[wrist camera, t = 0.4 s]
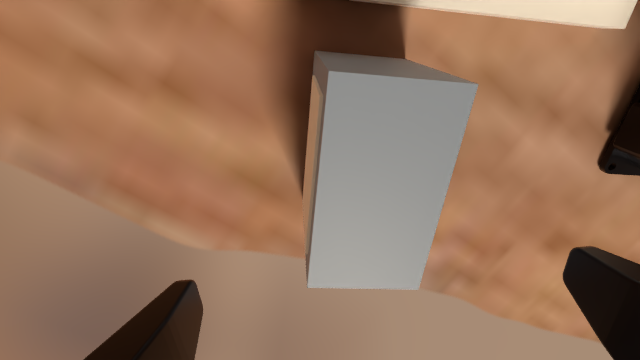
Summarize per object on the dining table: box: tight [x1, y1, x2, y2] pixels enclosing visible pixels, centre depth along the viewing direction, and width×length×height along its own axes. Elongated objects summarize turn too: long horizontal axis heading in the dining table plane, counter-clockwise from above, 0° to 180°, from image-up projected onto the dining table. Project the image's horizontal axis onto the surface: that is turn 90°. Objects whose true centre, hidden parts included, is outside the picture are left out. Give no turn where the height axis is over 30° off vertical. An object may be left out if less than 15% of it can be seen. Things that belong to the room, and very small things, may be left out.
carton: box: [302, 51, 478, 290], centre depth 16 cm, size 5×9×8 cm, turn 175°
